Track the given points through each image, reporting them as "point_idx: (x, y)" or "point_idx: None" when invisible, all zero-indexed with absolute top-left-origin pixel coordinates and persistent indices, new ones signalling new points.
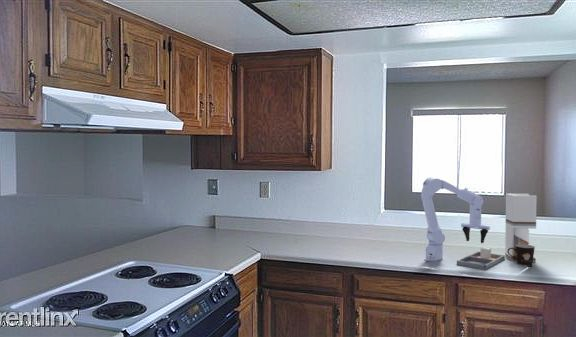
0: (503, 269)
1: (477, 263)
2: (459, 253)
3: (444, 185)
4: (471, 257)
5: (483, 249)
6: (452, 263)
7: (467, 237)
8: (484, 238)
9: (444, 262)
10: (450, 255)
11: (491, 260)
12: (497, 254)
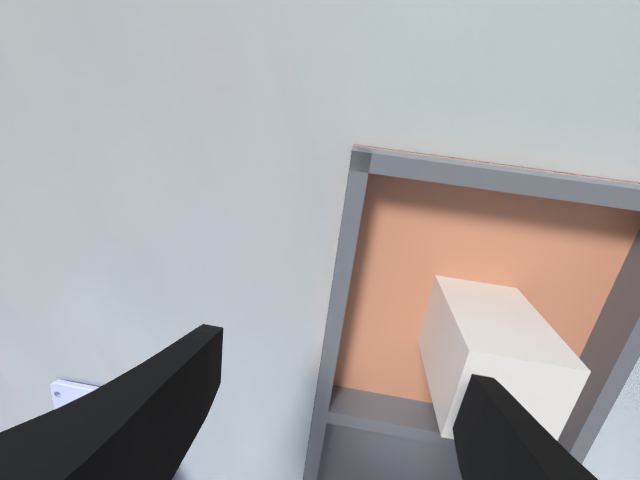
0: (612, 476)
1: (415, 465)
2: (143, 83)
3: None
4: (351, 421)
5: None
6: (245, 465)
7: (186, 446)
8: (556, 451)
9: (193, 462)
10: (121, 234)
11: None
12: (623, 192)
